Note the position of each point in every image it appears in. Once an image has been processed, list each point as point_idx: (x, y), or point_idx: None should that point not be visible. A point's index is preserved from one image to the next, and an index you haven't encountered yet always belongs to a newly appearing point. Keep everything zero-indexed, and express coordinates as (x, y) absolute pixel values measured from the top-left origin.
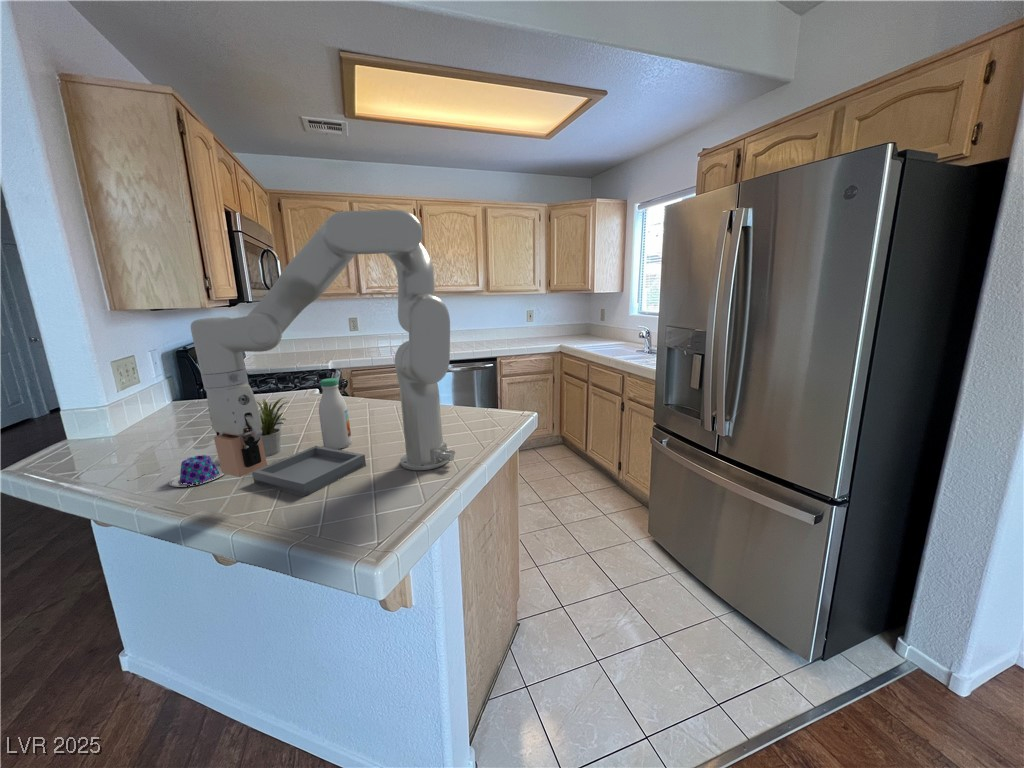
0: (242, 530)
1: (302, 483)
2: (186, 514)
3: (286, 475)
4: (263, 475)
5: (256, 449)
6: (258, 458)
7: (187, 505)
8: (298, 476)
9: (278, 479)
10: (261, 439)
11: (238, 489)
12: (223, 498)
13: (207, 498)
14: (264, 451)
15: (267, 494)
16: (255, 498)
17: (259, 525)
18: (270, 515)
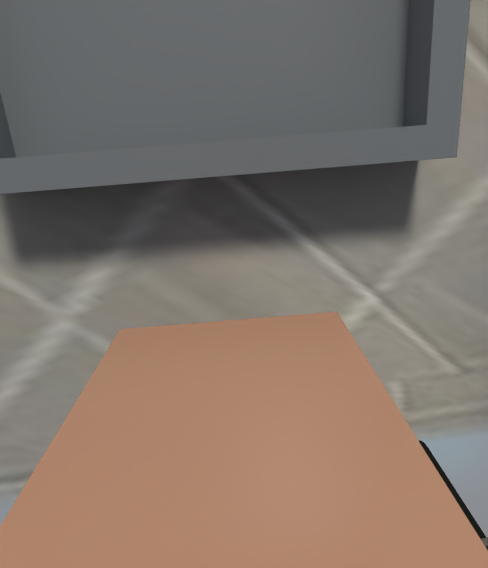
0: (410, 425)
1: (442, 153)
2: None
3: (114, 57)
4: (81, 186)
5: (475, 527)
6: (424, 447)
7: (7, 438)
8: (200, 27)
9: (227, 175)
10: (443, 493)
11: (19, 268)
12: (66, 345)
13: (2, 377)
14: (376, 375)
15: (212, 231)
16: (202, 280)
17: (439, 384)
18: (413, 329)
